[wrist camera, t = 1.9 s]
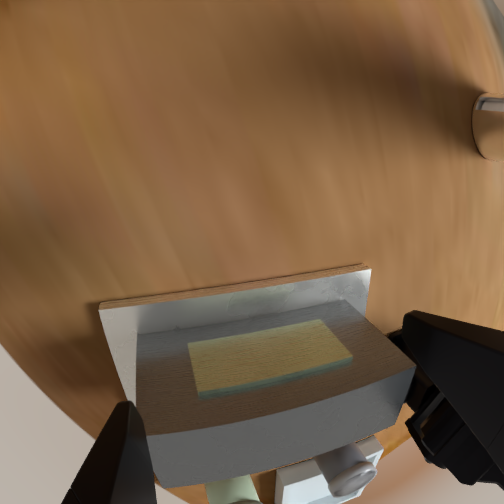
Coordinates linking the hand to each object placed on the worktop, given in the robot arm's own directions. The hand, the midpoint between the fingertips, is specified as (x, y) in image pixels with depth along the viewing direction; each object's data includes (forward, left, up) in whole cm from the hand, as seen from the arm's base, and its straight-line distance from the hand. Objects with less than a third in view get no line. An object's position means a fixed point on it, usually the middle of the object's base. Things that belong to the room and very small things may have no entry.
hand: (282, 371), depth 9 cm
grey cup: (-10, +22, -11) cm, 27 cm away
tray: (-11, +33, -11) cm, 36 cm away
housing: (-2, +7, -11) cm, 13 cm away
